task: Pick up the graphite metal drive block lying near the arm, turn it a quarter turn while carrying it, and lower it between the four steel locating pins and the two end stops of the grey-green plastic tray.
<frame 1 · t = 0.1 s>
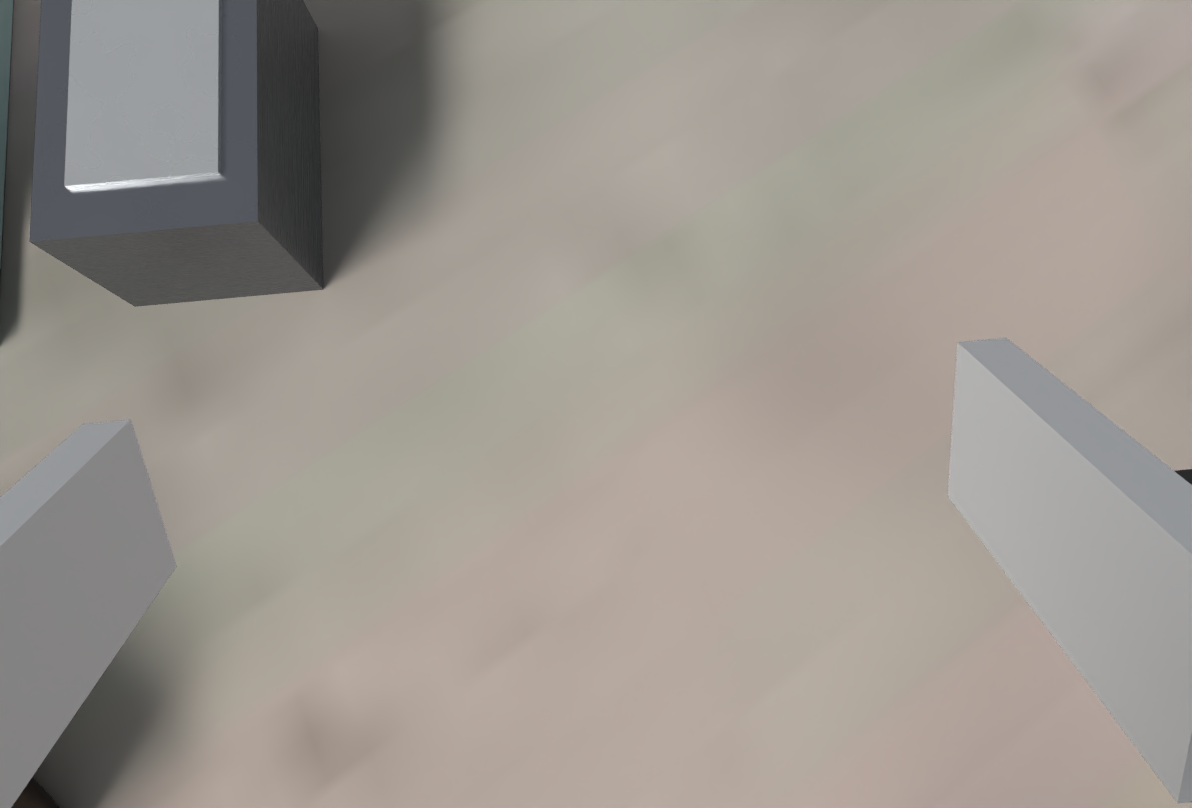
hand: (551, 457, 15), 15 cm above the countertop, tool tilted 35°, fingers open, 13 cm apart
drive: (230, 165, 34), on the countertop
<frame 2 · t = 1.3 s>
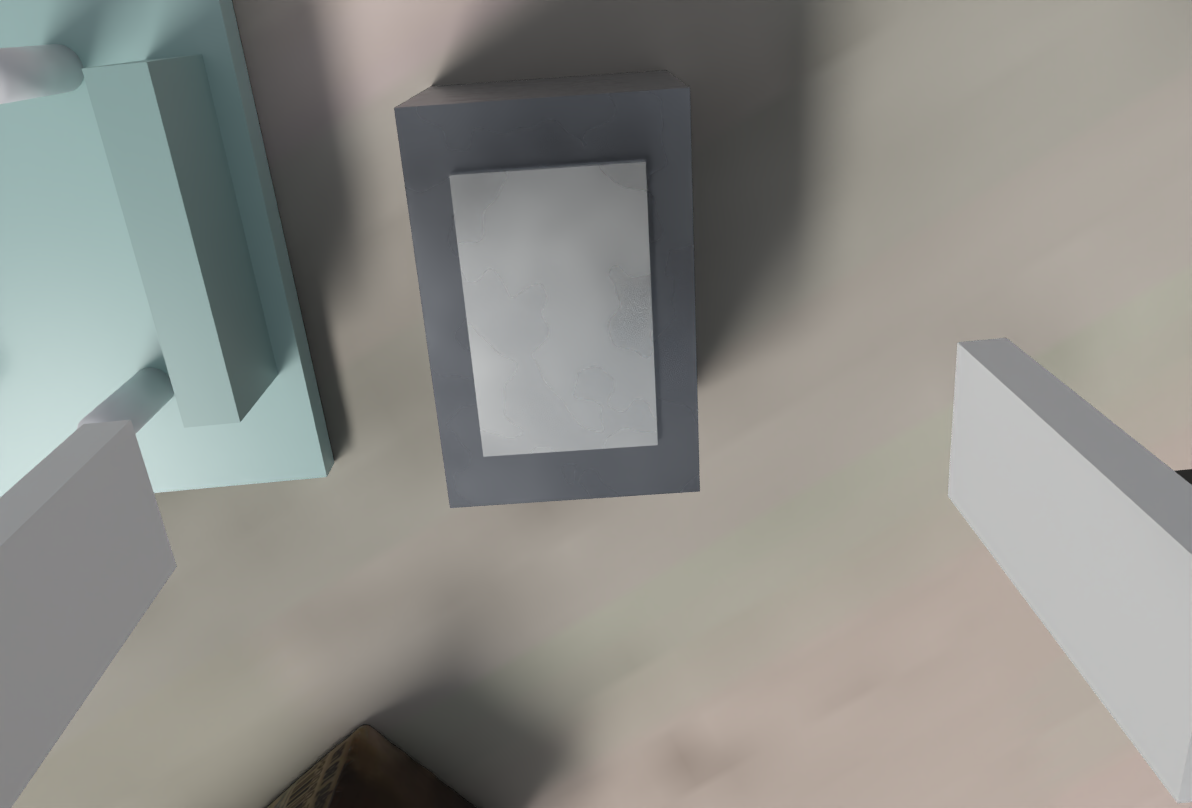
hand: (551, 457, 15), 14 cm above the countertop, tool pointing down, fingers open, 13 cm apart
drive: (562, 254, 28), on the countertop
pin tray: (6, 241, 28), on the countertop
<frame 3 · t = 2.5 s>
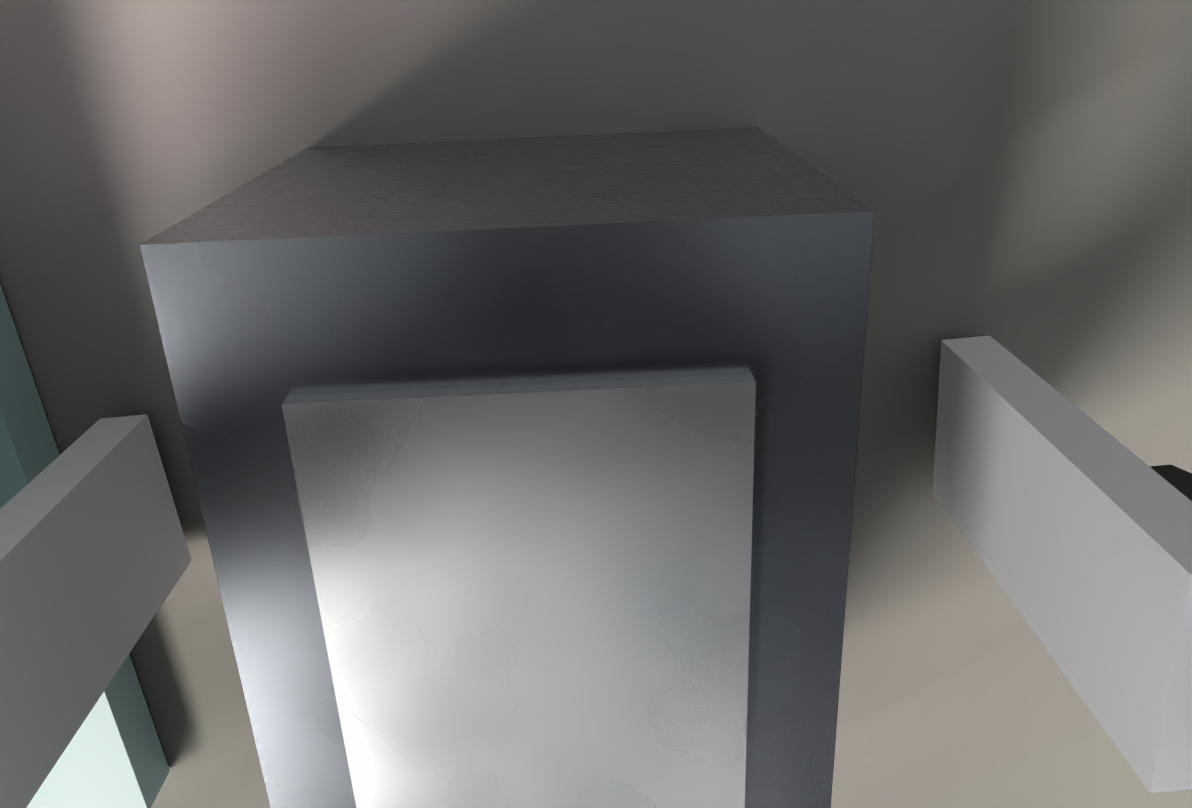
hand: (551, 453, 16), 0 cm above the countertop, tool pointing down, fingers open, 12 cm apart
drive: (553, 444, 16), on the countertop
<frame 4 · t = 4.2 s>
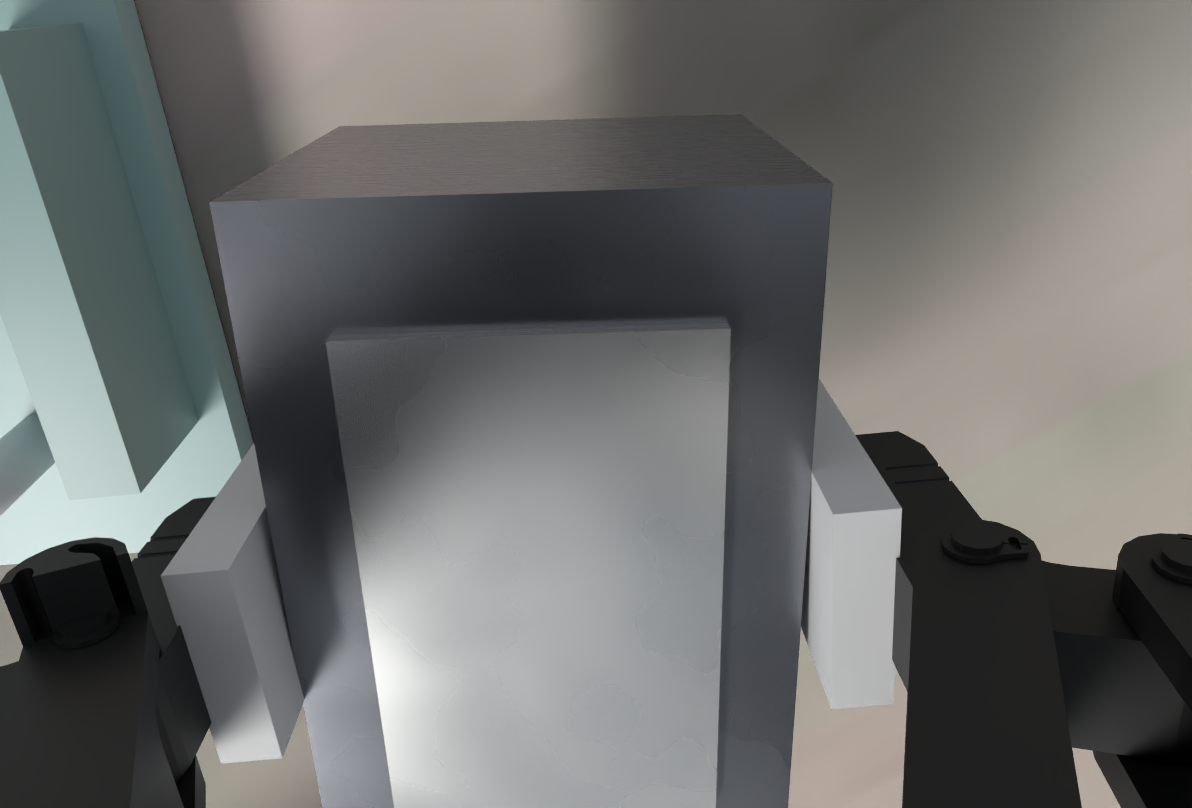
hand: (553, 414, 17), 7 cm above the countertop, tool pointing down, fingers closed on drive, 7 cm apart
drive: (554, 403, 17), point 6 cm above the countertop, touching gripper
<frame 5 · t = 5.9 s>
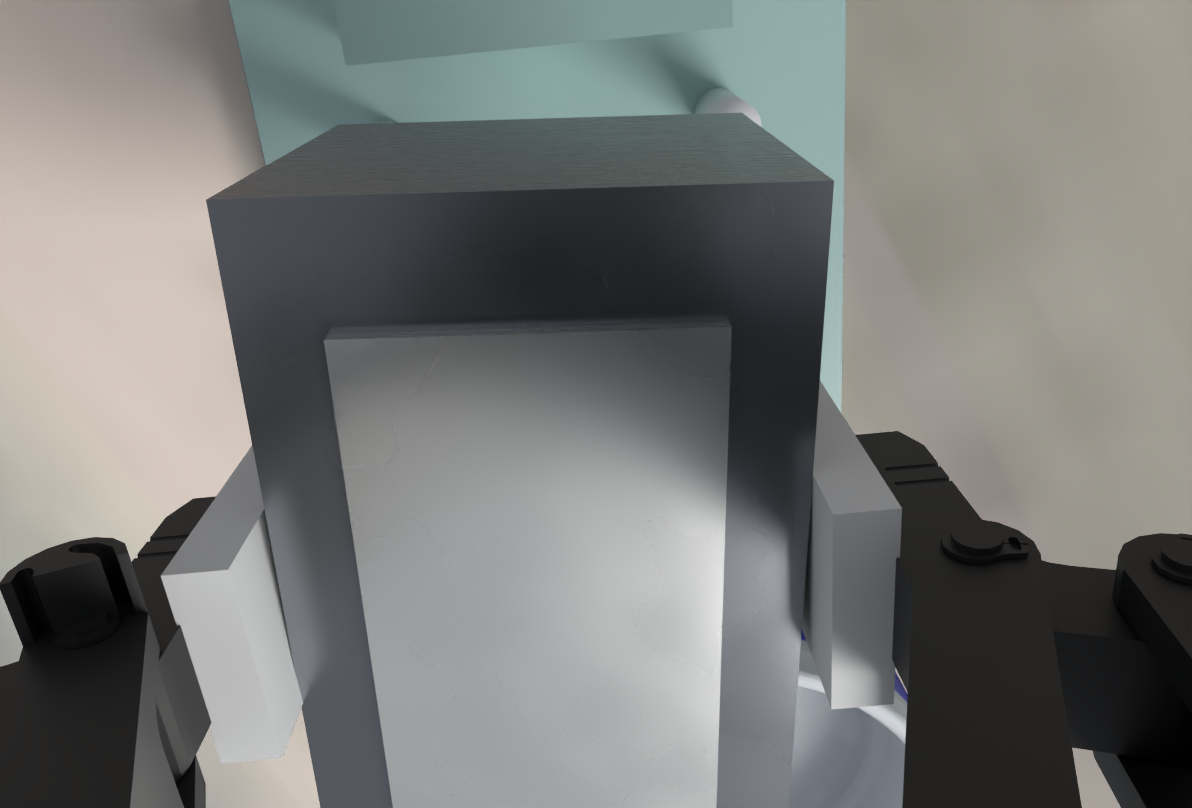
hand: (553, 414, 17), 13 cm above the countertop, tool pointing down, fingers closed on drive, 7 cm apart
dog bowl: (696, 721, 36), on the countertop
drive: (553, 403, 17), point 12 cm above the countertop, touching gripper
pin tray: (566, 243, 28), on the countertop
when the fingers open (1 cm above the countertop, at t = 7.8 s): drive stays where it is, resting on pin tray.
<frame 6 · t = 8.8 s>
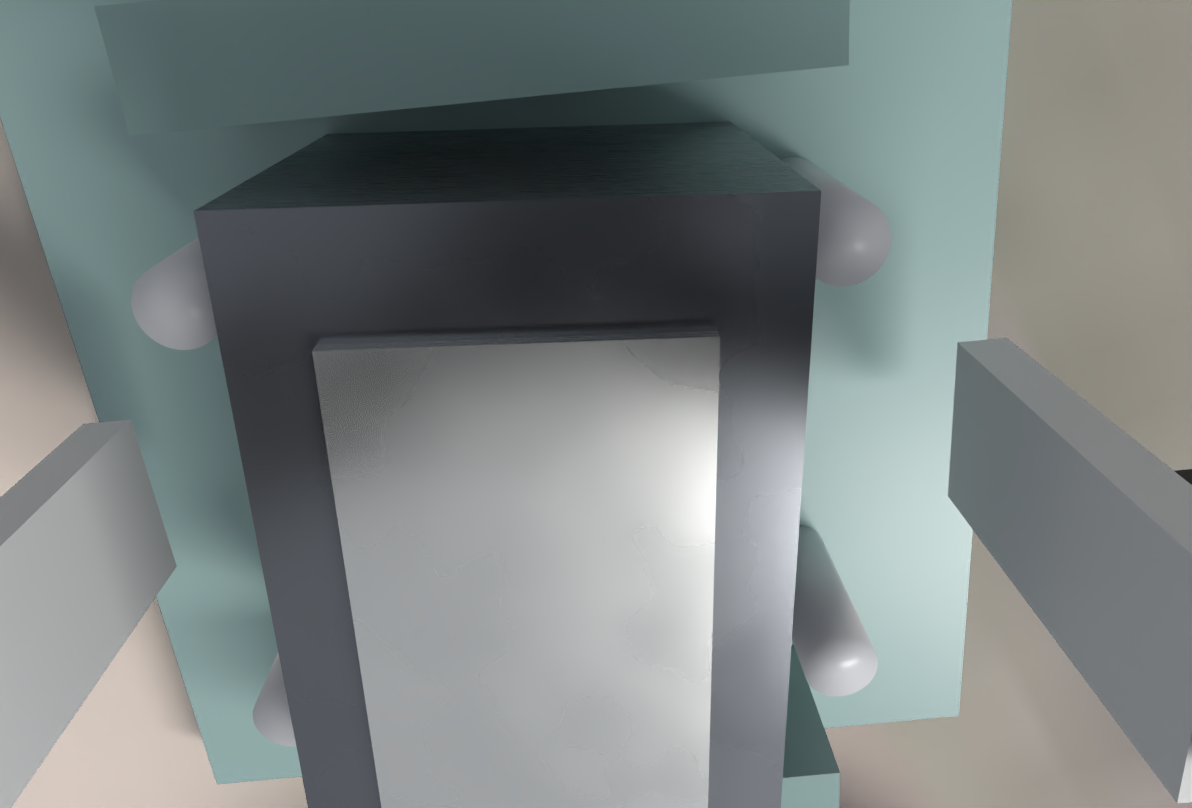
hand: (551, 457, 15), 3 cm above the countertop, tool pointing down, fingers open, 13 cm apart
drive: (544, 411, 17), point 1 cm above the countertop, touching pin tray
pin tray: (546, 389, 18), on the countertop
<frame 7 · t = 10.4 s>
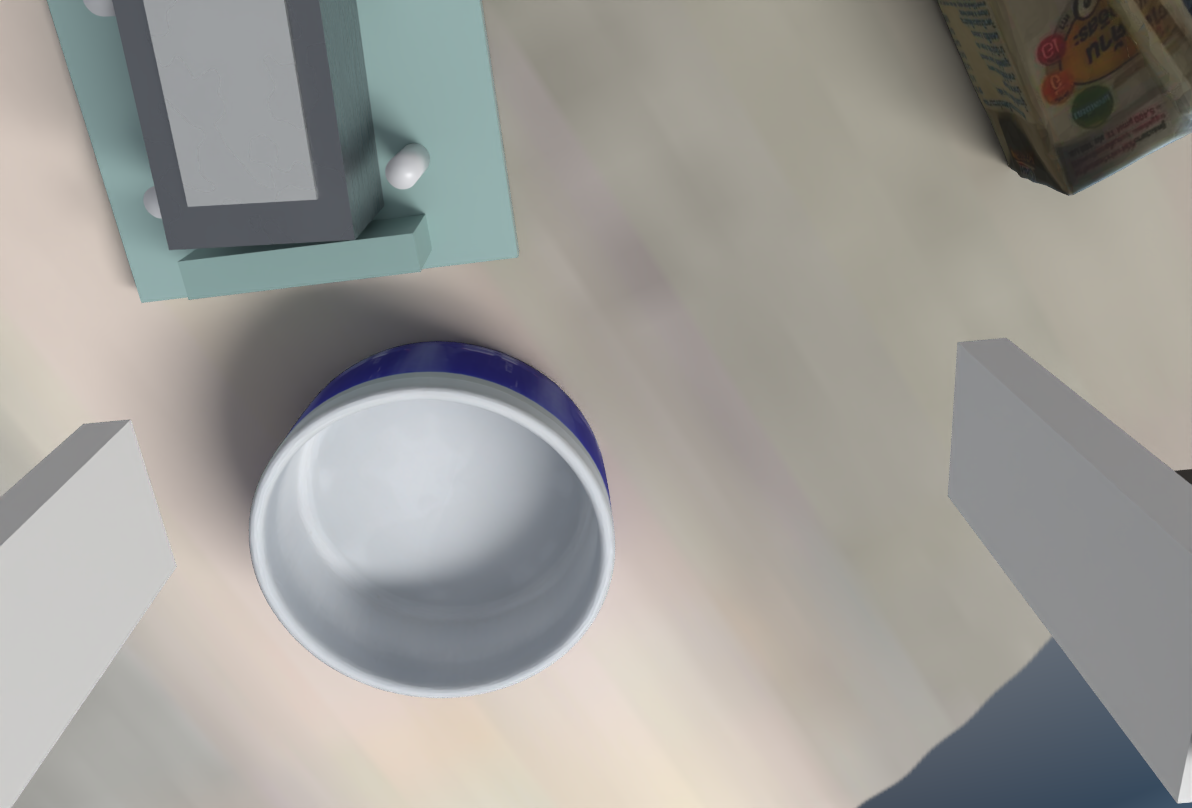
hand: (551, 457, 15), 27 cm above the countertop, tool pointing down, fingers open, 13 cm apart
dog bowl: (449, 486, 46), on the countertop
drive: (282, 81, 37), point 1 cm above the countertop, touching pin tray
pin tray: (290, 79, 38), on the countertop
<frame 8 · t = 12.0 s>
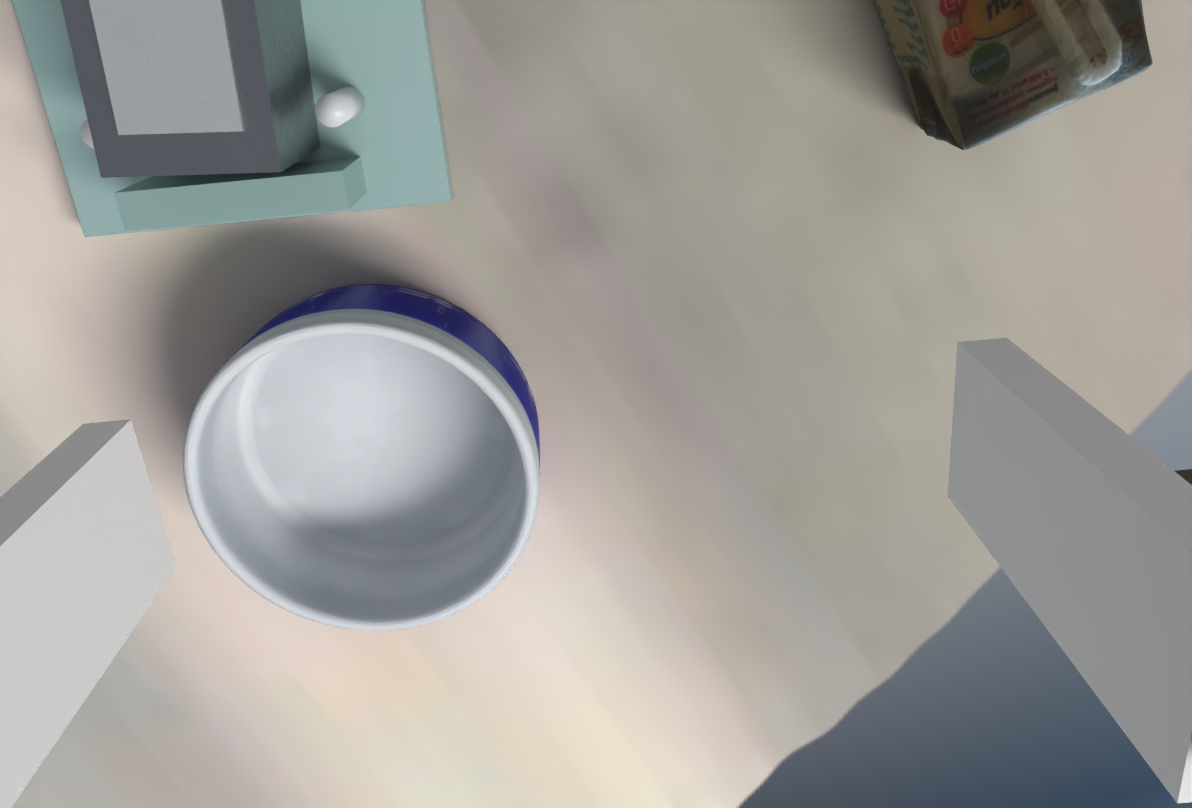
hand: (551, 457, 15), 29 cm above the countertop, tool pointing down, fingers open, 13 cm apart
dog bowl: (386, 428, 47), on the countertop
drive: (221, 21, 38), point 1 cm above the countertop, touching pin tray
pin tray: (230, 20, 39), on the countertop
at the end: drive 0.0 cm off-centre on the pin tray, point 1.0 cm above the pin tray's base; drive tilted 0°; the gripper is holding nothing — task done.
